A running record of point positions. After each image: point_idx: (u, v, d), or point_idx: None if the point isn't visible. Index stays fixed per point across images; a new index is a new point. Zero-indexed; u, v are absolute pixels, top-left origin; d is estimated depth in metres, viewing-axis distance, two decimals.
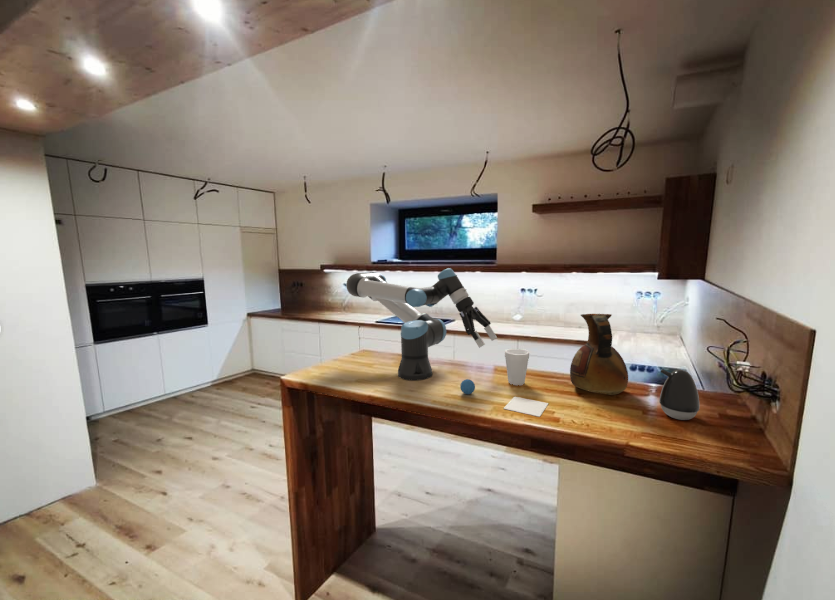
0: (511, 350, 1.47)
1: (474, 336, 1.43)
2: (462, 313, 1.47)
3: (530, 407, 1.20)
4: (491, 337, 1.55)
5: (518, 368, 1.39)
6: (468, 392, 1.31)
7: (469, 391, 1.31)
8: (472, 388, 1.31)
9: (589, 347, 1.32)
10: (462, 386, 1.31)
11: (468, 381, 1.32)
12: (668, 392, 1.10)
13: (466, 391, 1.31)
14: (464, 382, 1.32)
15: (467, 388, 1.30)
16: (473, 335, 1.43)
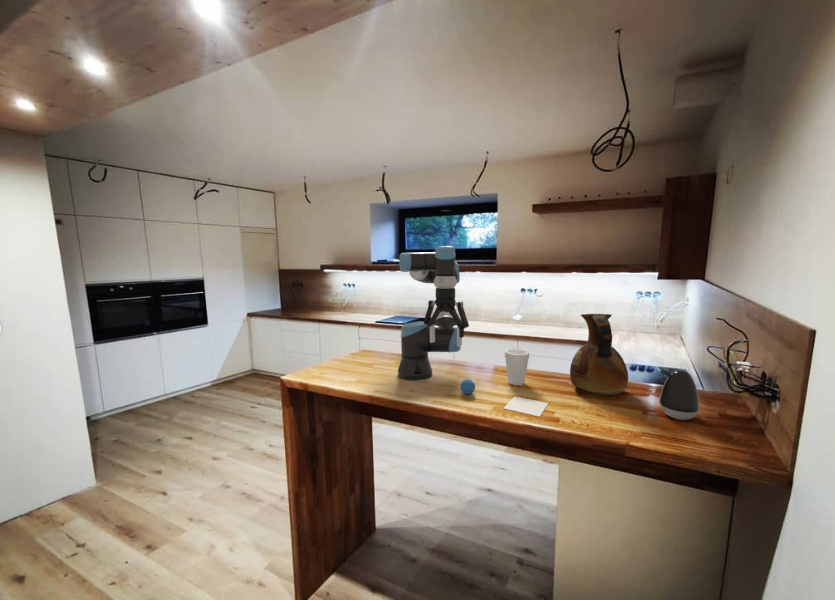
0: (511, 350, 1.47)
1: None
2: None
3: (530, 407, 1.20)
4: None
5: (518, 368, 1.39)
6: (468, 392, 1.31)
7: (469, 391, 1.31)
8: (472, 388, 1.31)
9: (589, 347, 1.32)
10: (462, 386, 1.31)
11: (468, 381, 1.32)
12: (668, 392, 1.10)
13: (466, 391, 1.31)
14: (464, 382, 1.32)
15: (467, 388, 1.30)
16: None
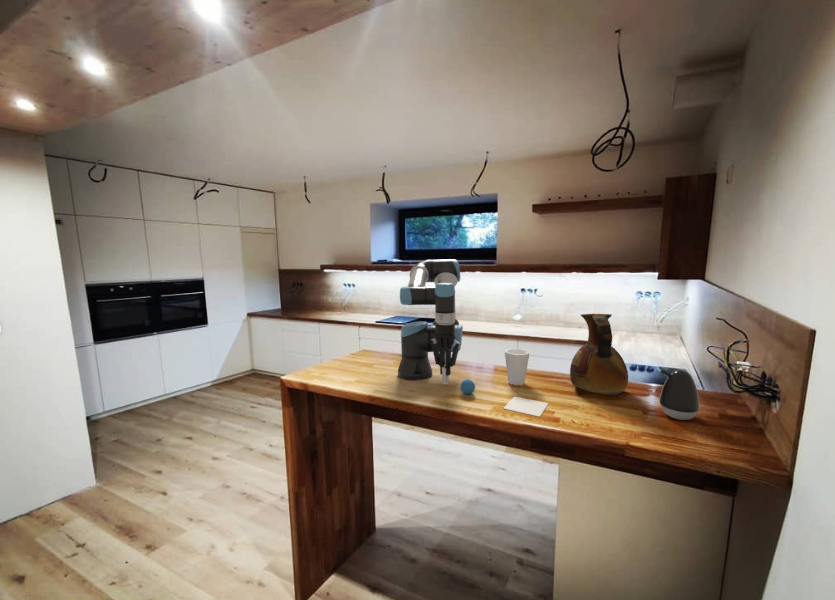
0: (511, 350, 1.47)
1: None
2: None
3: (530, 407, 1.20)
4: None
5: (518, 368, 1.39)
6: (468, 392, 1.31)
7: (469, 391, 1.31)
8: (472, 388, 1.31)
9: (589, 347, 1.32)
10: (462, 386, 1.31)
11: (468, 381, 1.32)
12: (668, 392, 1.10)
13: (466, 391, 1.31)
14: (464, 382, 1.32)
15: (467, 388, 1.30)
16: None
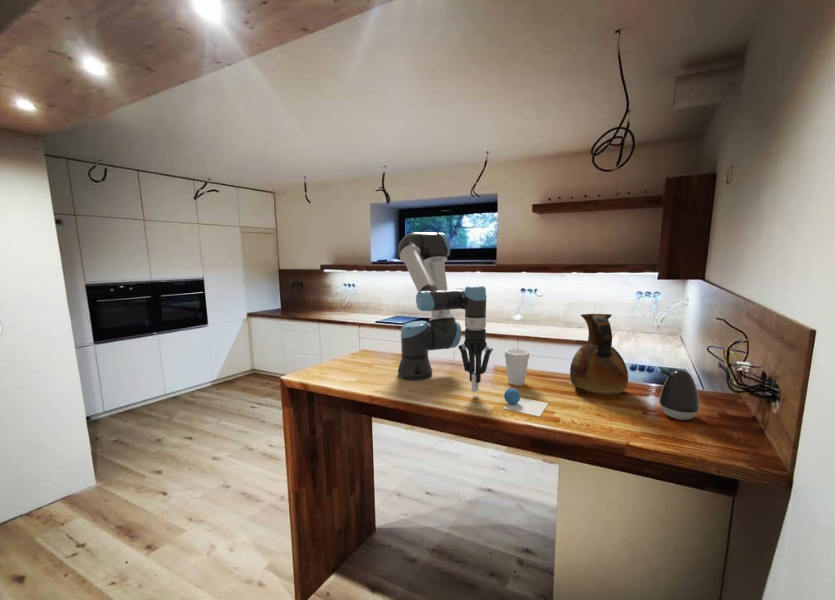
0: (511, 350, 1.47)
1: None
2: None
3: (530, 407, 1.20)
4: None
5: (518, 368, 1.39)
6: (514, 402, 1.21)
7: (515, 400, 1.21)
8: (518, 397, 1.21)
9: (589, 347, 1.32)
10: (506, 396, 1.22)
11: (512, 390, 1.22)
12: (668, 392, 1.10)
13: (512, 401, 1.21)
14: (508, 391, 1.22)
15: (512, 397, 1.21)
16: None
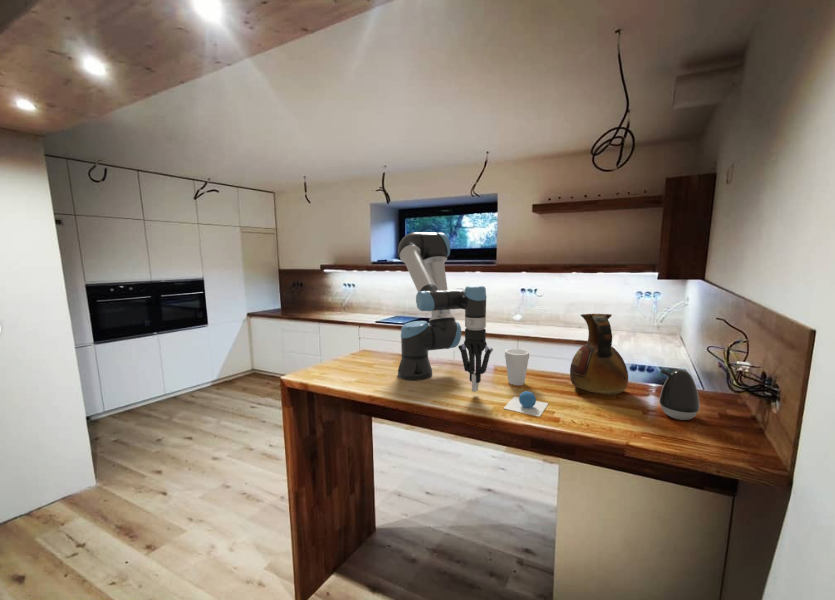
0: (511, 350, 1.47)
1: None
2: None
3: None
4: None
5: (518, 368, 1.39)
6: (521, 403, 1.20)
7: (522, 404, 1.20)
8: (525, 407, 1.20)
9: (589, 347, 1.32)
10: (527, 400, 1.18)
11: (533, 405, 1.18)
12: (668, 392, 1.10)
13: (522, 402, 1.19)
14: (532, 402, 1.18)
15: (525, 405, 1.18)
16: None
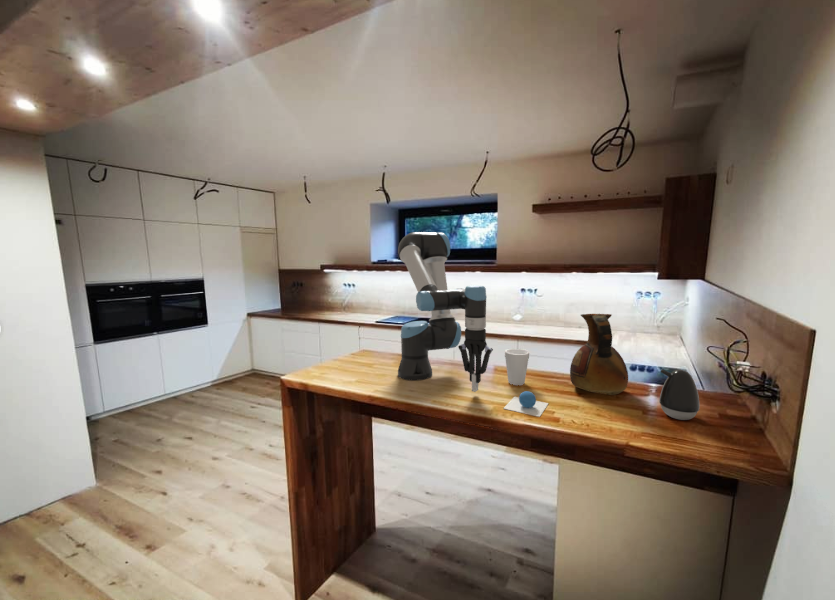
0: (511, 350, 1.47)
1: None
2: None
3: None
4: None
5: (518, 368, 1.39)
6: (521, 403, 1.20)
7: (522, 404, 1.20)
8: (525, 407, 1.20)
9: (589, 347, 1.32)
10: (527, 400, 1.18)
11: (533, 405, 1.18)
12: (668, 392, 1.10)
13: (522, 402, 1.19)
14: (532, 402, 1.18)
15: (525, 405, 1.18)
16: None
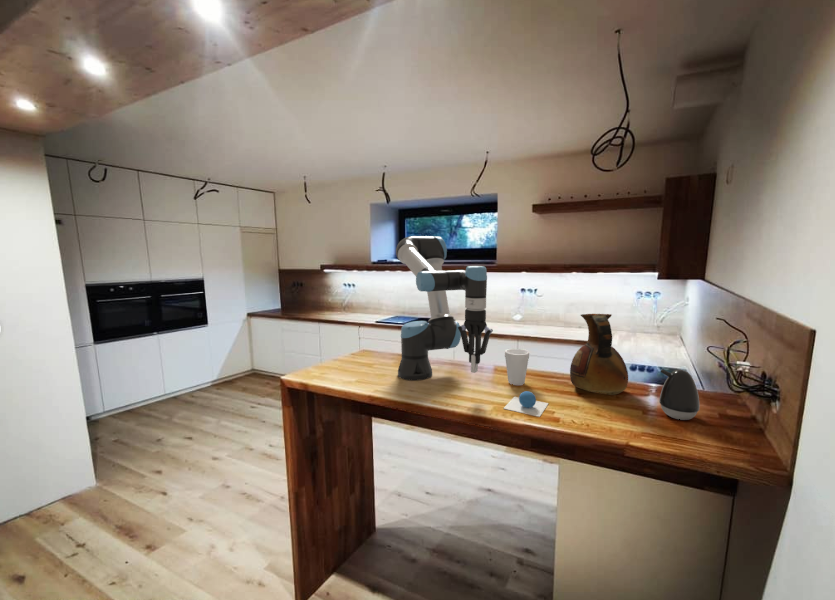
0: (511, 350, 1.47)
1: None
2: None
3: None
4: None
5: (518, 368, 1.39)
6: (521, 403, 1.20)
7: (522, 404, 1.20)
8: (525, 407, 1.20)
9: (589, 347, 1.32)
10: (527, 400, 1.18)
11: (533, 405, 1.18)
12: (668, 392, 1.10)
13: (522, 402, 1.19)
14: (532, 402, 1.18)
15: (525, 405, 1.18)
16: None
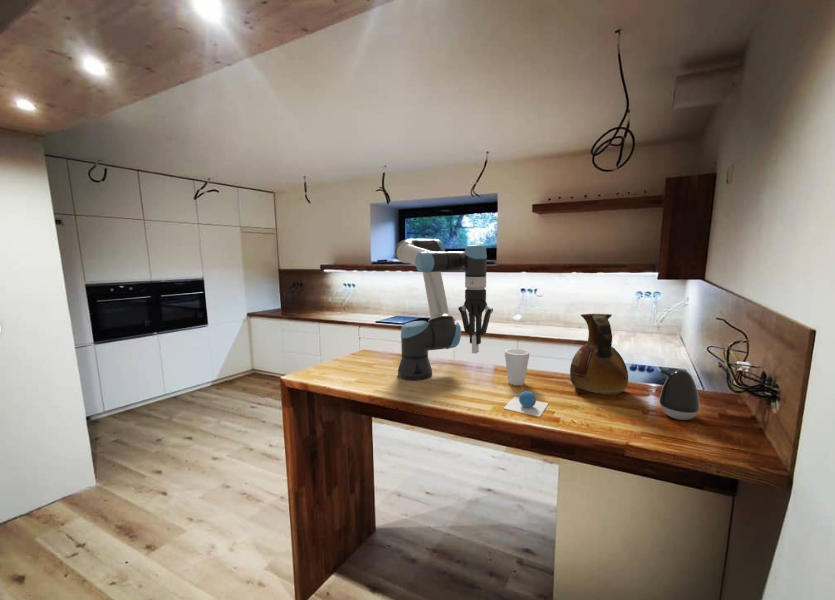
0: (511, 350, 1.47)
1: None
2: None
3: None
4: None
5: (518, 368, 1.39)
6: (521, 403, 1.20)
7: (522, 404, 1.20)
8: (525, 407, 1.20)
9: (589, 347, 1.32)
10: (527, 400, 1.18)
11: (533, 405, 1.18)
12: (668, 392, 1.10)
13: (522, 402, 1.19)
14: (532, 402, 1.18)
15: (525, 405, 1.18)
16: None
